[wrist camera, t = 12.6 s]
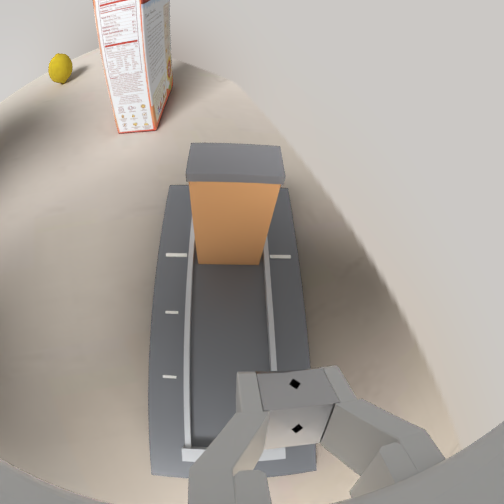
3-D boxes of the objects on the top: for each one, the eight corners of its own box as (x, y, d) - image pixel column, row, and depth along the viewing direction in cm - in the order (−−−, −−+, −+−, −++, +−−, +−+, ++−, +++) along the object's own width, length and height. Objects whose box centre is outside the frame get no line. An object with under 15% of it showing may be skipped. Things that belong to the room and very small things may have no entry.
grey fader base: (313, 468, 16) (320, 473, 14) (153, 472, 15) (148, 477, 13) (286, 193, 29) (289, 181, 27) (170, 190, 27) (168, 178, 26)
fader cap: (260, 266, 23) (285, 177, 14) (197, 265, 23) (185, 173, 14) (258, 239, 25) (280, 146, 16) (198, 238, 24) (191, 142, 15)
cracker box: (140, 88, 38) (131, -21, 20) (174, 86, 39) (173, -27, 21) (114, 135, 31) (89, -9, 13) (157, 132, 32) (144, -22, 14)
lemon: (78, 75, 43) (72, 45, 36) (70, 85, 40) (63, 54, 33) (58, 81, 42) (51, 53, 35) (49, 92, 39) (41, 62, 32)
